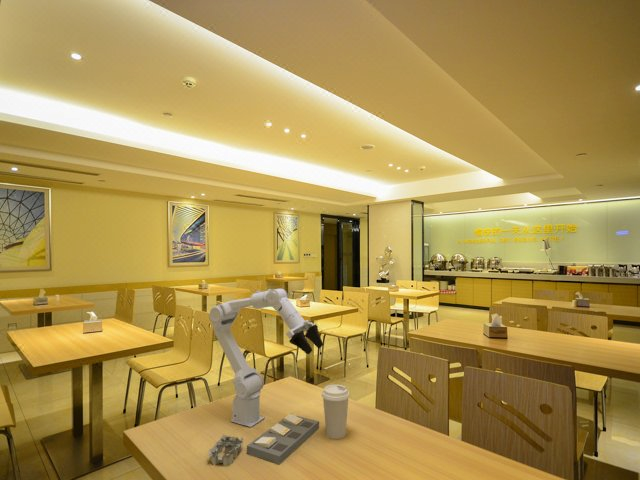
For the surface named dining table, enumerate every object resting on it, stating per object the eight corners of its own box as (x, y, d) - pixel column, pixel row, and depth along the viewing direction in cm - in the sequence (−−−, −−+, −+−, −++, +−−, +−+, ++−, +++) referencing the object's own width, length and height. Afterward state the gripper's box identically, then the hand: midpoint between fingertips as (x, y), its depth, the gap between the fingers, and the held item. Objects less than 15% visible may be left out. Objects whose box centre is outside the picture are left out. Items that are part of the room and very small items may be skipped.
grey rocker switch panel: (246, 453, 107) (246, 445, 107) (290, 420, 128) (290, 413, 128) (279, 464, 101) (279, 455, 101) (319, 428, 122) (319, 421, 122)
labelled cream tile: (283, 421, 122) (284, 417, 122) (290, 416, 126) (290, 413, 126) (296, 427, 120) (296, 424, 120) (302, 422, 123) (302, 419, 123)
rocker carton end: (255, 446, 108) (254, 442, 108) (263, 440, 111) (262, 436, 112) (268, 447, 106) (267, 443, 106) (276, 441, 109) (275, 437, 109)
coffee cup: (348, 443, 112) (348, 395, 113) (319, 440, 114) (318, 393, 115) (351, 428, 122) (351, 384, 122) (324, 426, 124) (324, 382, 124)
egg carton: (229, 468, 100) (229, 453, 100) (205, 465, 102) (205, 450, 102) (245, 447, 110) (245, 434, 111) (223, 445, 112) (223, 432, 112)
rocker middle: (270, 431, 115) (270, 427, 115) (277, 426, 119) (277, 422, 119) (282, 438, 113) (283, 434, 113) (289, 433, 116) (290, 429, 116)
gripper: (287, 313, 114) (312, 347, 109) (309, 306, 126) (333, 337, 122) (274, 327, 116) (298, 361, 111) (297, 319, 129) (320, 349, 124)
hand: (315, 349), depth 117 cm, fingers open, 7 cm apart
